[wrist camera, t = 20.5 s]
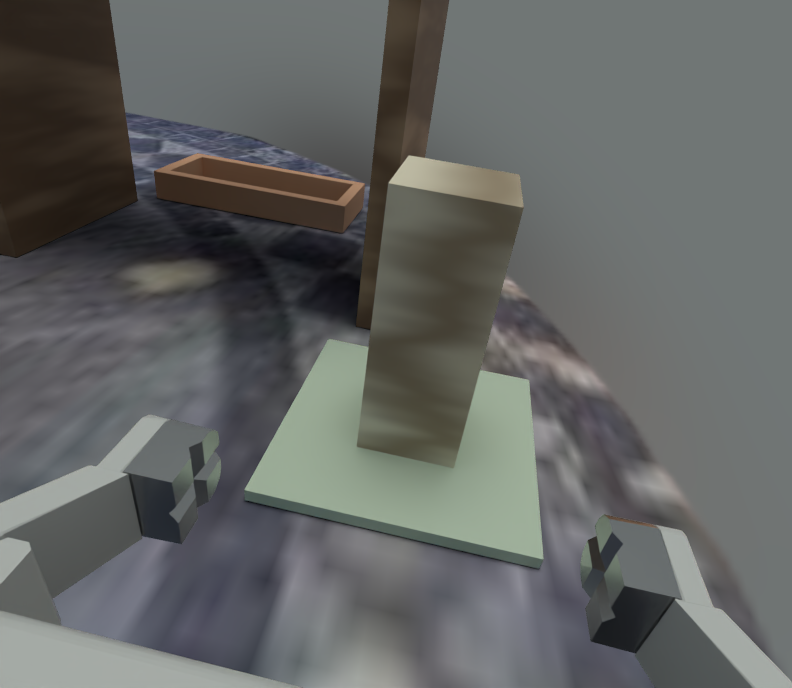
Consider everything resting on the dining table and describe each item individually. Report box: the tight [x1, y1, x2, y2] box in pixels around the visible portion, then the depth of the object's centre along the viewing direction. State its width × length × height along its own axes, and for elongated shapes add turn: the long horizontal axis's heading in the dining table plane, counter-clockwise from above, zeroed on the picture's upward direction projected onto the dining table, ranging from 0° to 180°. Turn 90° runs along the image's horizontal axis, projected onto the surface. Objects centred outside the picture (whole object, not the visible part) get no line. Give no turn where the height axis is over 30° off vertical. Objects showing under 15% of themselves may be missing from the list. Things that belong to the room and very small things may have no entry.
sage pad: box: [244, 339, 543, 569], centre depth 25 cm, size 12×12×1 cm
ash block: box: [357, 155, 524, 468], centre depth 22 cm, size 4×4×12 cm
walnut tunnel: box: [0, 0, 449, 329], centre depth 33 cm, size 27×14×26 cm, turn 80°
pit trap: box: [154, 153, 365, 233], centre depth 50 cm, size 18×8×2 cm, turn 80°
